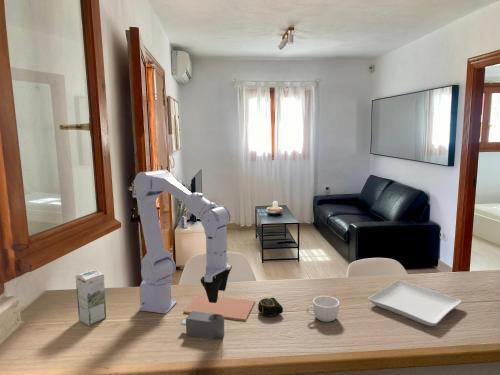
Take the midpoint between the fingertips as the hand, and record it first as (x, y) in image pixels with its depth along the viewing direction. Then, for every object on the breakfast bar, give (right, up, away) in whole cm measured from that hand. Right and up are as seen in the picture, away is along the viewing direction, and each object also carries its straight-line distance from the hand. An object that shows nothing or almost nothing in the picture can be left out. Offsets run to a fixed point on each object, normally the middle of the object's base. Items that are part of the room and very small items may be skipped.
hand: (217, 295), depth 102 cm
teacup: (+31, -9, +6) cm, 33 cm away
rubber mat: (0, -8, +13) cm, 15 cm away
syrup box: (-38, -9, +6) cm, 40 cm away
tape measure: (+16, -8, +10) cm, 21 cm away
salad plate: (+62, -8, +13) cm, 63 cm away
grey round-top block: (-4, -10, -2) cm, 11 cm away
